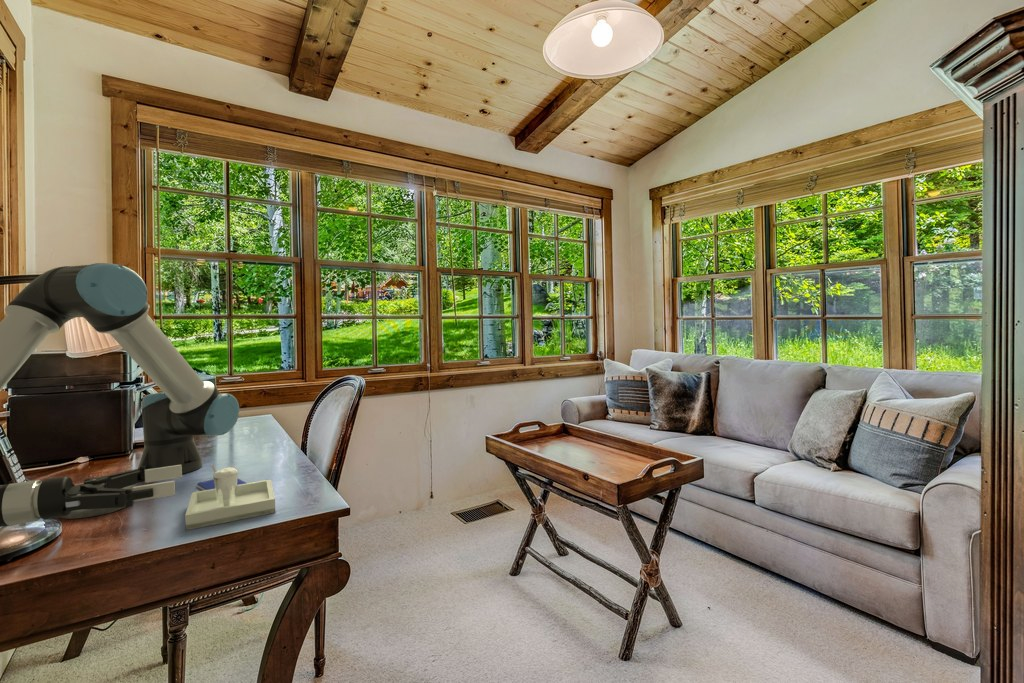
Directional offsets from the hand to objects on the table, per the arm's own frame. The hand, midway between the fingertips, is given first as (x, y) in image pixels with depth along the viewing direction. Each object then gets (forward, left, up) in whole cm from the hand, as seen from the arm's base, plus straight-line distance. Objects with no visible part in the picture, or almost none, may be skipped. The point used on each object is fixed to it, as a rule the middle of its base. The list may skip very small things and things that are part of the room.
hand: (178, 478), depth 101 cm
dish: (-19, -17, -9) cm, 27 cm away
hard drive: (-19, +7, -9) cm, 23 cm away
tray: (0, +10, -9) cm, 13 cm away
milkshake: (+4, +8, -8) cm, 12 cm away
